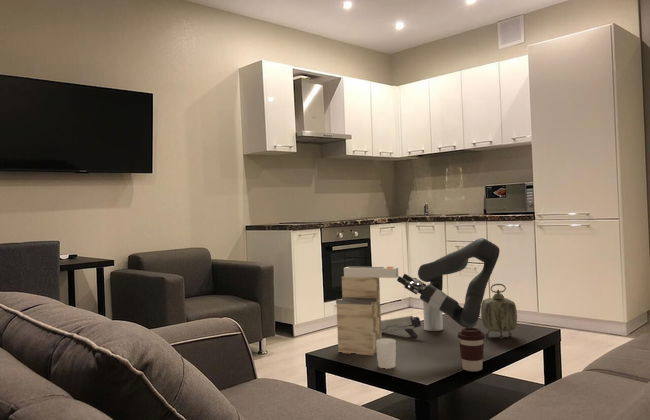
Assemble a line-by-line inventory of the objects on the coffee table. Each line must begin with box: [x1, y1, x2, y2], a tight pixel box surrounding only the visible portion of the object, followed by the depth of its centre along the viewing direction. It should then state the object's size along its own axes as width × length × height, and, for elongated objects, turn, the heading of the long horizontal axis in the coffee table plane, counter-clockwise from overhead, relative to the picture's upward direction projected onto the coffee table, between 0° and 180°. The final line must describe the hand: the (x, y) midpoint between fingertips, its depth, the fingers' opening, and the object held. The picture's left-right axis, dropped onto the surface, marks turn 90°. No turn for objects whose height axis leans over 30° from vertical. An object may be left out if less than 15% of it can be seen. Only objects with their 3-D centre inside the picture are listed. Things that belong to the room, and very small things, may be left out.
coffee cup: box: [457, 327, 486, 372], centre depth 201 cm, size 10×10×15 cm
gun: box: [381, 315, 422, 338], centre depth 258 cm, size 2×25×10 cm, turn 53°
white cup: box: [376, 338, 397, 370], centre depth 209 cm, size 8×8×10 cm
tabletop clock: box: [480, 283, 518, 340], centre depth 246 cm, size 14×9×25 cm, turn 88°
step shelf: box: [335, 275, 383, 356], centre depth 233 cm, size 12×16×32 cm
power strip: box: [343, 266, 399, 279], centre depth 234 cm, size 4×24×4 cm, turn 66°
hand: (400, 276), depth 229 cm, fingers open, 8 cm apart
